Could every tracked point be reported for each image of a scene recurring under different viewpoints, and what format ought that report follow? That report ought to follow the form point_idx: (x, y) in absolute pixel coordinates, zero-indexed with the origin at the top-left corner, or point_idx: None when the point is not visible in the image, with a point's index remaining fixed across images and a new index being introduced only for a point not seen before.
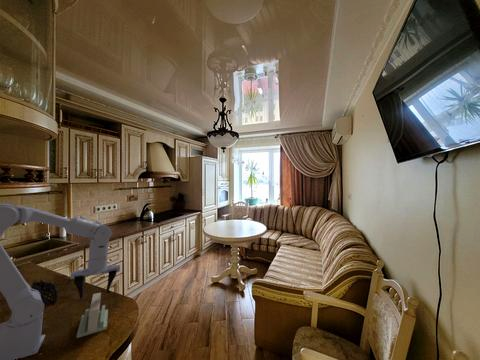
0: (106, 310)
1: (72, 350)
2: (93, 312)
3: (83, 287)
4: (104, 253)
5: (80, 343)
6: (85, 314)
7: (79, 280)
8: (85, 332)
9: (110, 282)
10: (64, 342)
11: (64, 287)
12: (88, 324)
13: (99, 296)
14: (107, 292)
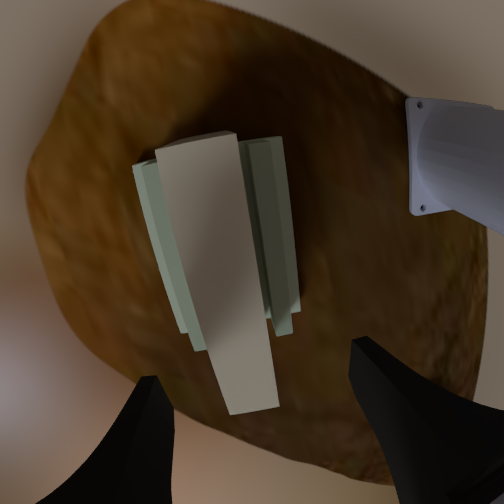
0: (185, 325)
1: (266, 46)
2: (198, 139)
3: (376, 431)
4: None
5: (243, 84)
6: (282, 283)
7: (500, 462)
8: (239, 142)
9: (97, 460)
10: (324, 125)
11: (373, 456)
12: (227, 131)
13: (221, 372)
14: (145, 379)
